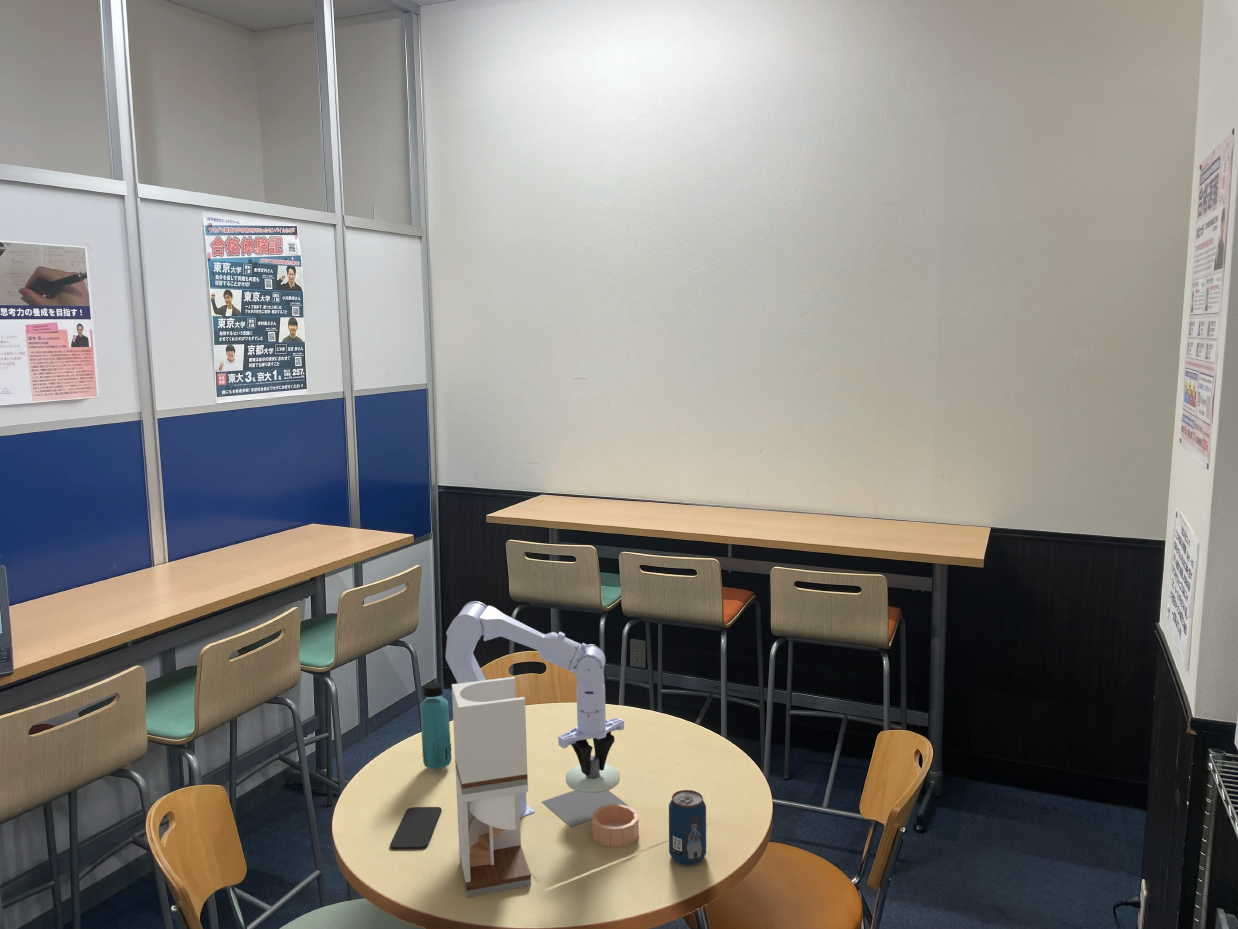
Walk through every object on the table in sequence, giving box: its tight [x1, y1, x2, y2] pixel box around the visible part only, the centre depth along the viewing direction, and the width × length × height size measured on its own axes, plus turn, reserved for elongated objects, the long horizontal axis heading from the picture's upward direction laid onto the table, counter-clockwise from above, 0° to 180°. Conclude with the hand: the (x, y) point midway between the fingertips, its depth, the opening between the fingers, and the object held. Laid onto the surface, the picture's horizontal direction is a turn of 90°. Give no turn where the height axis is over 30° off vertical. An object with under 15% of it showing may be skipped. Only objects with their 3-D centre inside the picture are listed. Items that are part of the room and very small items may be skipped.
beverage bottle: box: [419, 681, 452, 770], centre depth 204 cm, size 6×7×20 cm
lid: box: [565, 755, 621, 793], centre depth 184 cm, size 11×11×4 cm
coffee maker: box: [451, 676, 532, 898], centre depth 163 cm, size 11×11×35 cm
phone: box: [389, 806, 443, 851], centre depth 181 cm, size 7×1×15 cm
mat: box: [541, 790, 630, 828], centre depth 189 cm, size 14×12×1 cm
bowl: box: [591, 804, 640, 848], centre depth 177 cm, size 9×9×4 cm
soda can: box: [668, 789, 707, 867], centre depth 169 cm, size 7×7×12 cm
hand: (592, 771), depth 184 cm, fingers closed on lid, 3 cm apart
